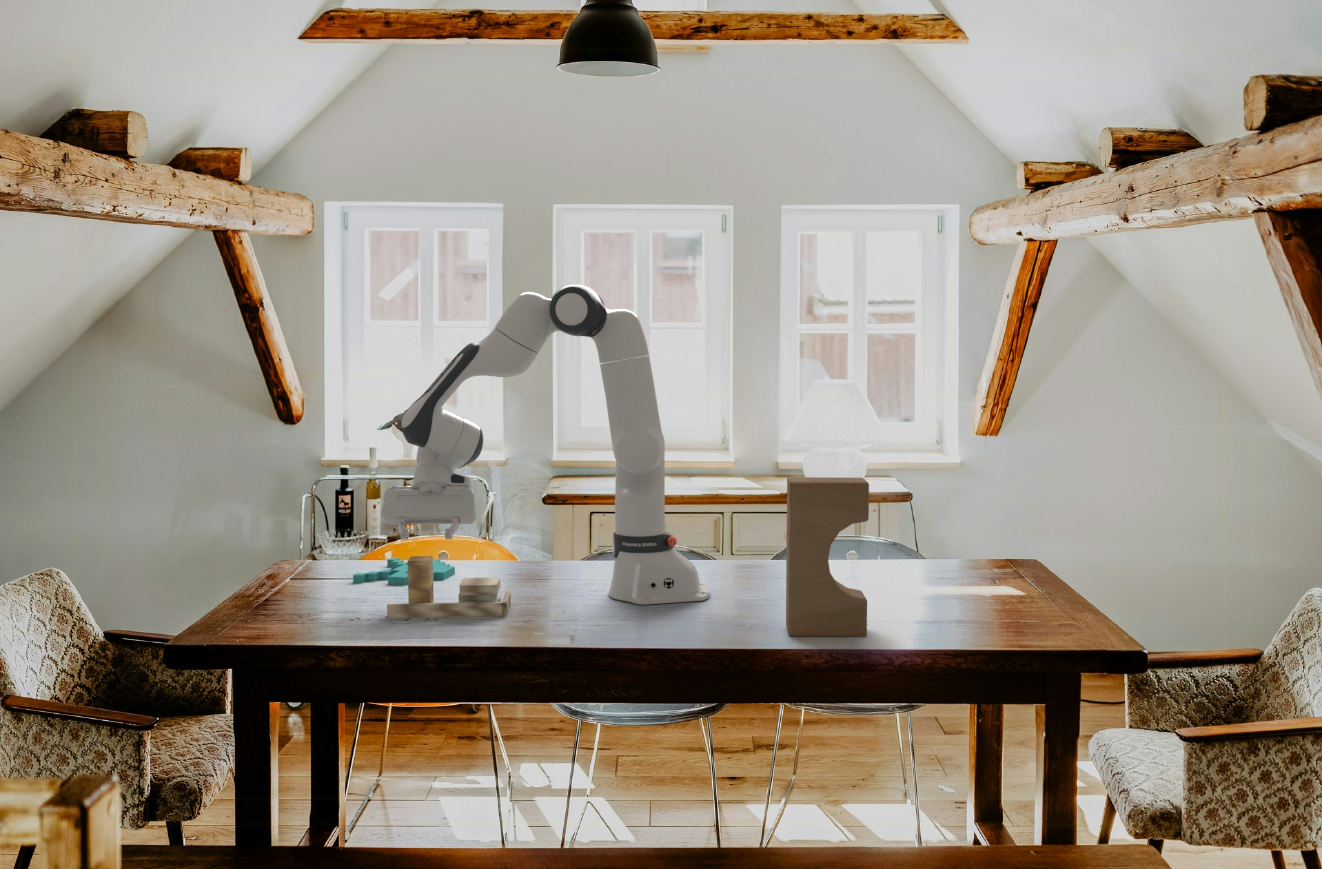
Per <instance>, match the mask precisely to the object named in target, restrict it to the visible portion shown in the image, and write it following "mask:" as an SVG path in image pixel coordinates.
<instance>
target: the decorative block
mask: <svg viewBox="0 0 1322 869" xmlns="http://www.w3.org/2000/svg"><path fill="white" fill-rule="evenodd" d="M869 501H870V483H869V482H868V481H867V480H866V478H865V479H864V477H813V476H811V477H807V476H806V477H805V476H804V477H798V476H797V477H791V476H790V477H787V478H786V556H785V557H786V573H785V579H786V580H785V584H786V587H785V589H786V590H785V626H786V630H787V634H788V636H789V637H836V638H837V637H839V638H840V637H843V638H844V637H845V638H847V637H848V638H851V637H852V638H856V637H857V638H861V637H862V638H865V637H867V635H868V634H867V633H868V599H867V598H866V596H865V595H864V592H863V591H862V590H861V589H855V588H850V587H847V586H845V585H844V584H842V583H840V582H839V581H837V580H836V579H835V578H834V576H833V574H832V573H831V569H830V563H829V556H830V552H831V546H832V544H833V542H834V540H835V539H836V538H837V536H838V535H839V533H841V532H842V531H844V530H846V528H848V527H850V526H851V525H853V524H859V523H864V522H868V521H869V517H870V516H869V515H870V514H869V510H870V509H869V508H870V507H869V506H870V502H869Z"/></svg>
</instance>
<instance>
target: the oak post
mask: <svg viewBox="0 0 1322 869" xmlns="http://www.w3.org/2000/svg"><path fill="white" fill-rule="evenodd" d="M433 560H434V558H433V555H427V556H426V555H425V556H424V555H421V556H418V555H417V556H415V555H414V556H413V555H412V556H410V557H409V559H407V562H408V584H407V587H408V588H407V596H408V598H407V599H408V603H435V602H434V601H435V600H434V599H435V598H434V594H435V593H434V580H433Z"/></svg>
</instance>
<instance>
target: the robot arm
mask: <svg viewBox="0 0 1322 869" xmlns="http://www.w3.org/2000/svg"><path fill="white" fill-rule="evenodd" d="M556 332H563V333H564V334H567V335H569V336H572V337H586V338H590V339H592V341H594V344H595V346H596V349H597V354H598V356H597V357H598V362H599V368H600V372H601V378H602V383H603V388H604V389H603V390H604V395H605V402H606V408H607V409H606V410H607V417H608V424H609V431H610V439H611V445H612V451H613V455H614V459H615V490H614V493H615V494H614V515H615V516H614V520H615V521H614V523H615V525H614V526H615V528H614V530H615V531H614V532H613V537H612V554H613V558H614V561H613V562H614V563H613V569H612V570H613V572H612V577H611V583H610V587H609V590H608V593H607V594H608V596H609V597H610V598H612V599H613V600H618V601H624V602H628V603H629V602H630V603H632V604H636V605H640V606H641V605H656V604H657V605H658V604H669V603H670V604H672V603H686V602H700V601H701V602H702V601H705V600H707V599H709V597H710V591H709V588H708V586H706V585H705V584H704V583H701V582H700V577H699V573H698V569H697V567H696V565H695V564H694V563H693V562H692V561H691V560H689V559H688V558H686V557H685V556H684V555H683V554H681V553H680V552H678V551H677V550H676V549H675V548H674V547H676V545H677V544H678V541H677V540H678V539H677V538H676V537H675V536H674V535H673V534H671V532H667V531H666V530H665V529H666V528H665V527H666V524H665V521H666V520H665V518H666V516H665V514H666V513H665V508H666V507H665V504H666V503H665V493H666V492H665V487H666V485H665V472H666V471H665V465H666V464H665V455H666V454H665V452H666V450H665V449H666V448H665V437H664V434H663V431H662V427H661V426H662V425H661V419H660V413H659V407H658V401H657V394H656V388H655V382H654V376H653V371H652V370H653V369H652V364H651V358H650V356H649V355H650V353H649V352H650V351H649V347H648V344H647V339H646V336H645V333H644V330H643V327H642V324H641V322H640V318H639V316H638V315H637V314H636V313H634V312H633V311H631V310H629V309H624V308H616V309H609V308H607V307H606V306H605V303H604V301H603V299H602V298H601V296H600V295H599V294H598V293H597V292H596V291H594V289H592V288H591V287H588V286H586V285H582V284H567V285H565V286H562V287H561V288H558V290H556V291H555V292H554V294H553V295H552V296H551V298H548V297H546V296H543V295H542V294H539V293H536V292H533V291H527V292H526V291H525V292H523V293H521V294H519V295H518V296H517V297H516V298H515V299H514V300H513V301H512V302H511V304H510V305H509V306H508V307H507V309H506V310H505V311H504V312H503V314H502V315H501V317H500V318H499V320H498V322H497V323H496V324H495V326H494V328H493V329H492V331H491V332H490V333H489V334H488V335H487V336H486V337H484V338H482V340H479V341H478V342H472V343H471V342H470V343H468V344H467V345H465V346H464V347H463V348H462V349H461V350H460V351H459V352H458V353H457V354H456V355H455V356H454V357H453V359H452V360H451V361H450V362H449V363H448V364H447V365H446V367H444V369H443V370H442V371H441V373H439V375H438V376H437V377H436V378H435V380H434V381H433V382H432V383H431V384H430V386H429V387H428V388H427V389H426V390H425V391H424V392H423V394H421V396H419V398H417V399H416V400H415V401H414V402H413V403H412V404H411V405H410V406H409V407H408V409H407V410H406V411H405V412H404V414H403V416H402V419H401V421H400V430H401V432H402V435H403V437H404V439H405V440H406V442H407V443H408V444H411V445H413V446H417V453H416V460H415V461H416V468H415V470H414V473H413V480H412V485H404V486H398V485H396V486H395V485H394V486H392V487H390V488H387V489H386V490H385V491H384V495H383V501H384V502H383V505H382V509H381V518H382V521H383V522H384V523H385V525H397V529H398V530H399V532H400V533H399V536H400V540H402V541H403V540H404V541H405V540H409V536H410V533H409V529H408V528H405V527H406V525H451V526H450V527H449V528H445V530H444V531H445V532H444V538H445V540H453V537H454V534H455V532H457V530H458V529H459V528H460V525H466V524H467V525H472V524H474V522H476V520H477V507H476V500H475V494H474V490H473V484H472V481H471V478H470V477H469V476H466V475H462V474H459V473H455V471H456V469H461V468H464V467H466V466H469V465H470V464H471V463H474V462H475V461H476V460H477V459H478V458H479V456H480V455H481V453H482V450H483V447H484V435H483V430H482V428H481V426H480V425H478V424H477V423H476V422H473V421H471V420H469V419H467V418H465V417H463V416H459V415H458V414H455V413H454V412H451V411H449V410H447V409H445V408H444V407H443V406H444V405H445V404H446V403H447V402H448V400H449V399H450V398H451V397H452V396H453V394H454V393H455V392H456V391H457V389H458V388H459V387H460V386H461V385H462V384H463V383H464V382H465V381H466V380H468V379H470V378H473V377H478V376H481V377H482V376H484V377H485V376H487V377H497V378H511V377H515V376H518V375H522V374H523V373H524V372H526V371H527V370H528V369H529V368H530V367H531V365H532V364H533V362H534V361H535V359H536V358H537V356H538V355H539V353H540V351H541V349H542V348H543V346H544V345H545V343H546V341H547V340H548V338H549V337H550V336H551V335H552V334H553V333H556Z"/></svg>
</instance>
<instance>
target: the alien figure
mask: <svg viewBox="0 0 1322 869" xmlns="http://www.w3.org/2000/svg"><path fill="white" fill-rule="evenodd" d="M386 561H387V567H388V568H389V567H391V569H382V570H379V571H371V570H370V571H368V572H366V573H365V572H356V573H354V574H352V582H353V583H354V584H356V583H357V584H358V583H359V584H360V583H361V584H363V583H364V582H365V583H366V582H376V581H379V580H387V585H395V586H396V585H398V586H408V562H406V561H405V560H402V559H400V557H390V558H387V560H386ZM404 561H405V562H404ZM455 568H456V567H455V566H451V565H450V563H448V564H447V563H446V562H445V561H441V559H433V581H435V580H440V581H441V580H443V581H445V580H446V579H448V578H450V577H452V576H453V575H455V573H456V572H455V571H456V569H455ZM449 576H450V577H449Z"/></svg>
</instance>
